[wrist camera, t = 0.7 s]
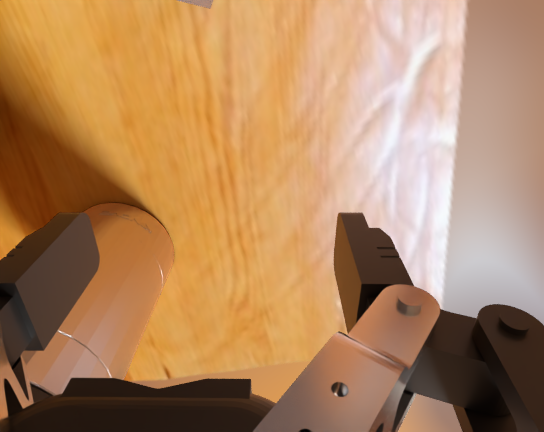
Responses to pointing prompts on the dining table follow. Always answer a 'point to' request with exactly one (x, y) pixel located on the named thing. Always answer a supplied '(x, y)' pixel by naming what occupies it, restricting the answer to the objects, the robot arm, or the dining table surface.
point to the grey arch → (199, 2)
